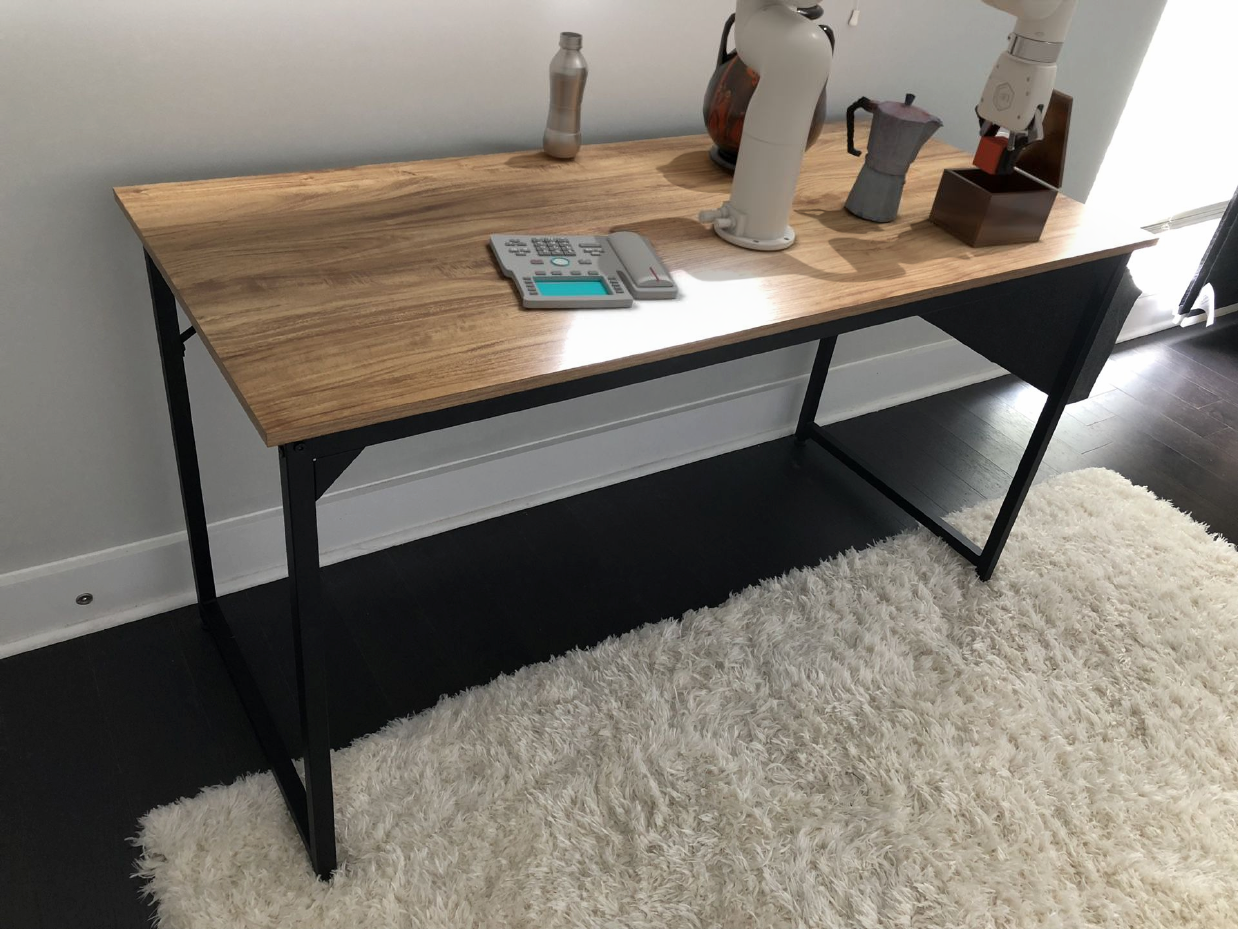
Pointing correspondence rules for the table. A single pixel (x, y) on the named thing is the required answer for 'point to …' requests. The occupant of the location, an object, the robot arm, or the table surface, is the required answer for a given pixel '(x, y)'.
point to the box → (992, 206)
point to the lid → (1049, 143)
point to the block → (990, 153)
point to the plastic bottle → (566, 97)
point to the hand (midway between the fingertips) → (992, 166)
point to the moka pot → (887, 154)
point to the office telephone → (583, 269)
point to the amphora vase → (745, 98)
